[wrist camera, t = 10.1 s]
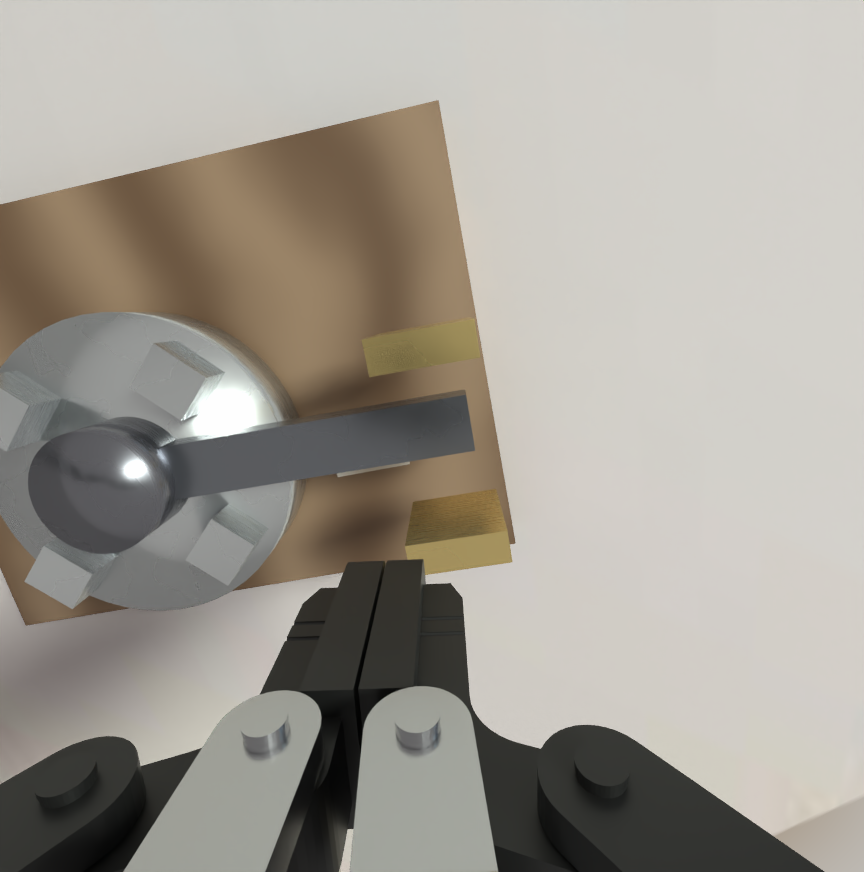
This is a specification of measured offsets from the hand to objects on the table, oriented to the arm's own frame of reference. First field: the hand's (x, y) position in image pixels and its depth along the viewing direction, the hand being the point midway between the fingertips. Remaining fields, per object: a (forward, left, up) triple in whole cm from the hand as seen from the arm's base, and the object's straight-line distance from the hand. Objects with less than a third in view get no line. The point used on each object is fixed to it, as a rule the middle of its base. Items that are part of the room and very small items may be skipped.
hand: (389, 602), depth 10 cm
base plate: (-9, +4, -13) cm, 16 cm away
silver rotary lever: (-7, +2, -12) cm, 14 cm away
